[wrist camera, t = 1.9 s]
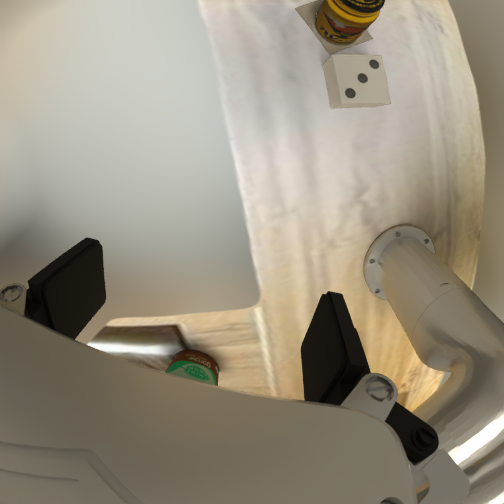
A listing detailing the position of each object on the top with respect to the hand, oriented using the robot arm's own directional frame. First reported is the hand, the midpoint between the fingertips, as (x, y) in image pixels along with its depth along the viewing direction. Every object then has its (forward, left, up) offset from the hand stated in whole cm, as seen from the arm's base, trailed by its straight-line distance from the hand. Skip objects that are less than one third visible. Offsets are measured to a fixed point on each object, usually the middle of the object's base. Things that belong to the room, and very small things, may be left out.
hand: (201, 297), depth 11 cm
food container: (+6, +34, -27) cm, 44 cm away
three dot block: (-10, -15, -27) cm, 33 cm away
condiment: (-7, -25, -27) cm, 38 cm away
